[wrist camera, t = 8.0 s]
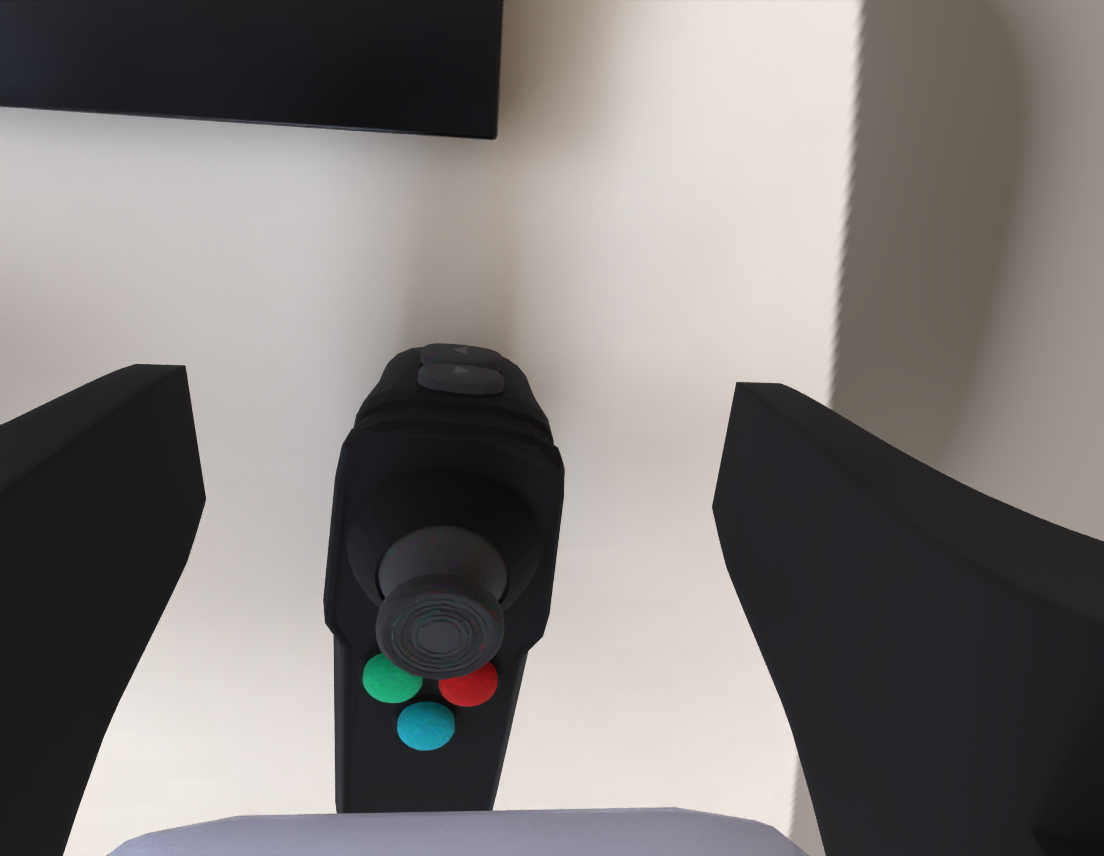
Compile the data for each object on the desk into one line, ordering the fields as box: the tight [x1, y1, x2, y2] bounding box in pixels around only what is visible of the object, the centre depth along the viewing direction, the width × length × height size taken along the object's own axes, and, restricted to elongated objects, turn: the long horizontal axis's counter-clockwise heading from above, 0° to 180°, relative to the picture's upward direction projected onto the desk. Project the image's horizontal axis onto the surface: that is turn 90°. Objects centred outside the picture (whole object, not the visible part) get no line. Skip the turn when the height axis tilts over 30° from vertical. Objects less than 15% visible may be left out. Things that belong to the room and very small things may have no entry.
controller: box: [323, 344, 565, 814], centre depth 20 cm, size 4×12×10 cm, turn 172°
